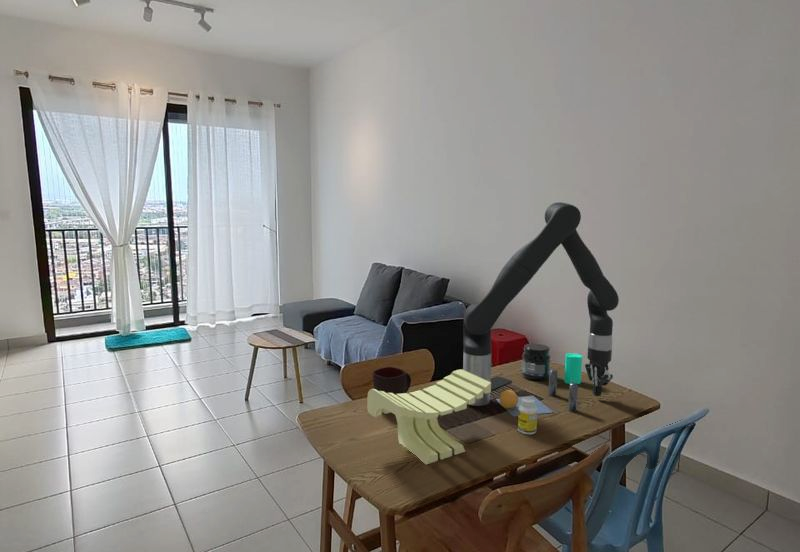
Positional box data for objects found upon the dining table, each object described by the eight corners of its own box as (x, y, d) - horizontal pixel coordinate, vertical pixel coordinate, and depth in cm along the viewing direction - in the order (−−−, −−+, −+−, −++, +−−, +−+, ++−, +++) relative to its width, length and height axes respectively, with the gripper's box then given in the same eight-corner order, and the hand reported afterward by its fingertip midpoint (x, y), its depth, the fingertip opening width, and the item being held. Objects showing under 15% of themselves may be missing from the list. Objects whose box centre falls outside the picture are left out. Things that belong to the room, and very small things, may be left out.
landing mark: (512, 416, 155) (512, 415, 155) (495, 399, 168) (495, 398, 168) (553, 412, 158) (553, 412, 158) (533, 396, 171) (533, 395, 171)
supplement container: (544, 372, 196) (546, 343, 194) (553, 381, 186) (554, 350, 184) (518, 372, 196) (519, 343, 194) (525, 381, 185) (526, 351, 184)
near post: (571, 412, 158) (572, 385, 157) (566, 409, 160) (568, 382, 159) (578, 411, 158) (579, 385, 157) (574, 408, 161) (575, 382, 160)
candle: (582, 385, 182) (583, 354, 180) (565, 384, 183) (566, 353, 181) (579, 379, 187) (581, 349, 186) (563, 378, 189) (564, 348, 187)
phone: (513, 380, 185) (489, 390, 175) (513, 383, 185) (489, 392, 175) (497, 375, 191) (472, 385, 181) (497, 377, 191) (472, 387, 181)
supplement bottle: (514, 428, 147) (515, 397, 145) (529, 425, 149) (530, 394, 147) (524, 436, 142) (526, 403, 140) (540, 433, 144) (541, 401, 142)
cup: (368, 407, 162) (368, 372, 160) (398, 395, 171) (399, 362, 170) (388, 416, 155) (388, 379, 153) (419, 404, 164) (419, 369, 163)
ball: (500, 401, 157) (515, 390, 158) (493, 395, 163) (507, 383, 163) (510, 415, 158) (524, 403, 159) (502, 408, 164) (516, 397, 165)
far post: (550, 396, 171) (551, 372, 169) (547, 394, 173) (548, 369, 172) (557, 396, 171) (558, 371, 170) (553, 393, 174) (555, 369, 172)
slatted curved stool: (453, 422, 151) (454, 366, 148) (489, 443, 137) (491, 382, 135) (367, 447, 135) (367, 385, 133) (398, 474, 122) (398, 405, 119)
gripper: (579, 341, 171) (576, 389, 174) (601, 352, 159) (598, 403, 161) (598, 340, 173) (595, 387, 175) (622, 351, 160) (618, 402, 163)
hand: (596, 395), depth 168 cm, fingers closed
